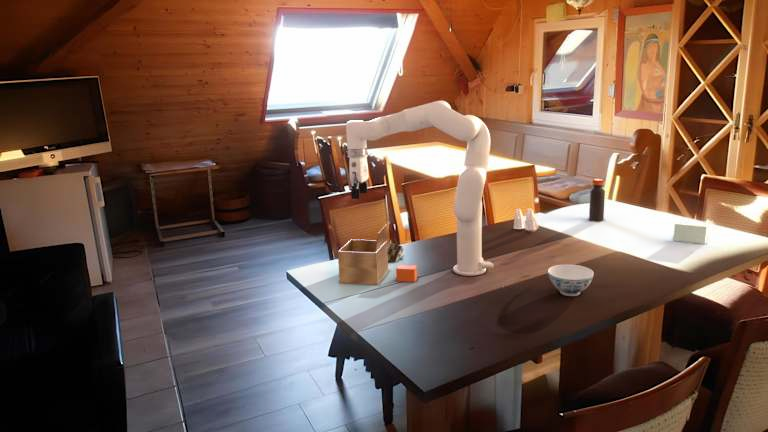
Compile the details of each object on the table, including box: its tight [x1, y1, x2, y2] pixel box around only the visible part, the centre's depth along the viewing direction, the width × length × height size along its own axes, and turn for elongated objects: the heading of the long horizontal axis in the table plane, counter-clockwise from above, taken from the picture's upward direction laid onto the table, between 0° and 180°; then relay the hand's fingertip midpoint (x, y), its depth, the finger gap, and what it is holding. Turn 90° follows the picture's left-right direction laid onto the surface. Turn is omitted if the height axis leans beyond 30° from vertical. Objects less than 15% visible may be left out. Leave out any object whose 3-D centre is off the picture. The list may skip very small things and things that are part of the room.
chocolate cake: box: [387, 239, 405, 263], centre depth 251 cm, size 10×7×12 cm
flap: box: [376, 221, 391, 251], centre depth 225 cm, size 7×15×1 cm
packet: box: [395, 264, 418, 283], centre depth 225 cm, size 7×4×5 cm, turn 75°
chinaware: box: [547, 263, 595, 297], centre depth 206 cm, size 15×15×8 cm
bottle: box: [588, 178, 606, 222], centre depth 292 cm, size 7×7×20 cm
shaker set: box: [513, 208, 539, 233], centre depth 281 cm, size 12×4×11 cm, turn 40°
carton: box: [337, 239, 389, 286], centre depth 230 cm, size 15×16×12 cm
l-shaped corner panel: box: [673, 219, 710, 245], centre depth 258 cm, size 12×12×8 cm
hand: (359, 195), depth 235 cm, fingers open, 9 cm apart
